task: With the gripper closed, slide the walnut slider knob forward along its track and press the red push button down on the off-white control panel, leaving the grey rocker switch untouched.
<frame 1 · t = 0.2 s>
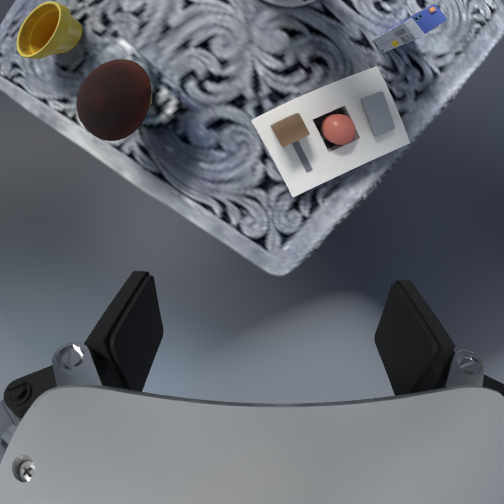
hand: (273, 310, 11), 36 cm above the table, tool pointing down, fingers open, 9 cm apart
decorative mushroom: (143, 101, 39), on the table
walnut slider: (289, 129, 36), point 5 cm above the table, slide at 0.0 cm
control panel: (332, 128, 41), on the table
walkman: (392, 37, 33), on the table
red button: (337, 129, 37), point 4 cm above the table, slide at 0.0 cm
plant pot: (69, 36, 33), on the table
grey rocker: (378, 113, 35), point 5 cm above the table, hinge at 12.0°
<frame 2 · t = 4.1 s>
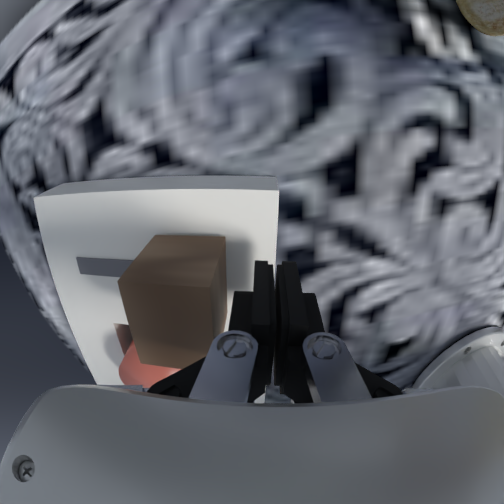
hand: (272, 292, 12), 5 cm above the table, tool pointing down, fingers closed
decorative mushroom: (466, 10, 9), on the table
walnut slider: (182, 299, 12), point 5 cm above the table, slide at 0.3 cm, touching gripper
control panel: (173, 329, 19), on the table
red button: (159, 365, 16), point 3 cm above the table, slide at 0.0 cm
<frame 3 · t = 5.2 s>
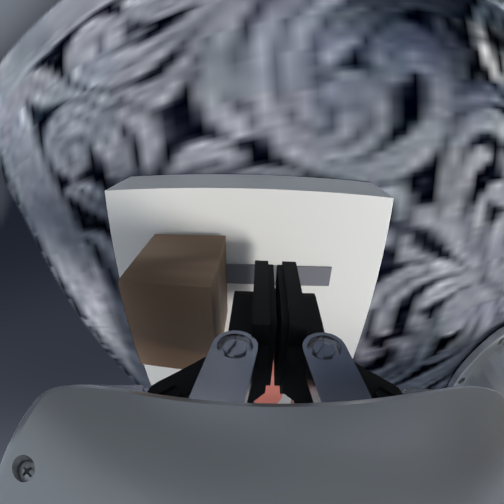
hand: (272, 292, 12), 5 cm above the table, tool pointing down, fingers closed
walnut slider: (182, 299, 12), point 5 cm above the table, slide at 5.4 cm, touching gripper
control panel: (246, 334, 19), on the table
red button: (243, 373, 16), point 3 cm above the table, slide at 0.0 cm
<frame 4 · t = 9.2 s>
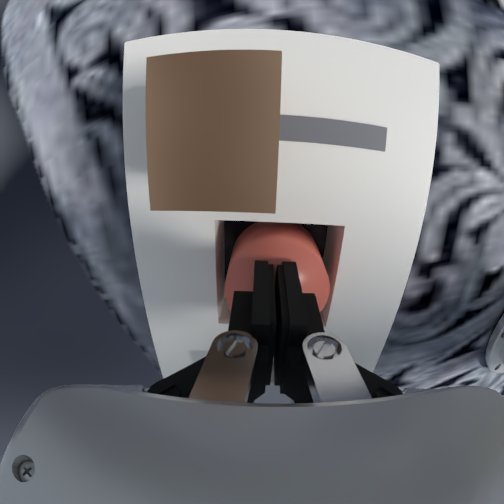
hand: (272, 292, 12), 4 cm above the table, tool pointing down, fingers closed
walnut slider: (221, 127, 8), point 5 cm above the table, slide at 5.1 cm
control panel: (274, 250, 16), on the table
red button: (276, 274, 13), point 3 cm above the table, slide at 1.0 cm, touching gripper
grey rocker: (265, 395, 14), point 5 cm above the table, hinge at 12.0°
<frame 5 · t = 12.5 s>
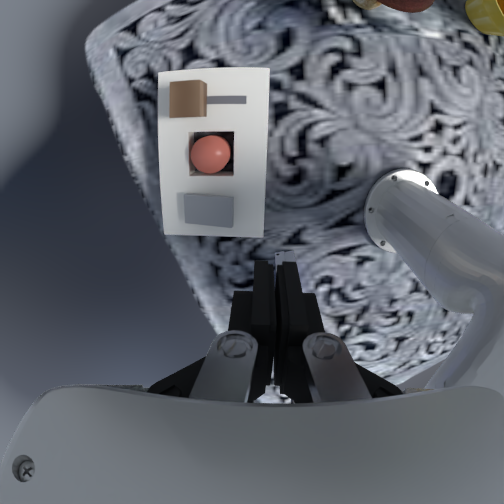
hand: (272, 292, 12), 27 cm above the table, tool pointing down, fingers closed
decorative mushroom: (361, 0, 25), on the table
walnut slider: (188, 99, 28), point 5 cm above the table, slide at 5.1 cm
control panel: (214, 151, 35), on the table
walkman: (288, 273, 43), on the table
red button: (211, 153, 33), point 2 cm above the table, slide at 1.0 cm
plant pot: (478, 17, 22), on the table
grey rocker: (208, 210, 34), point 5 cm above the table, hinge at 12.0°
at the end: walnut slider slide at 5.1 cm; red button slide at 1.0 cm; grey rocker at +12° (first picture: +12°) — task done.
